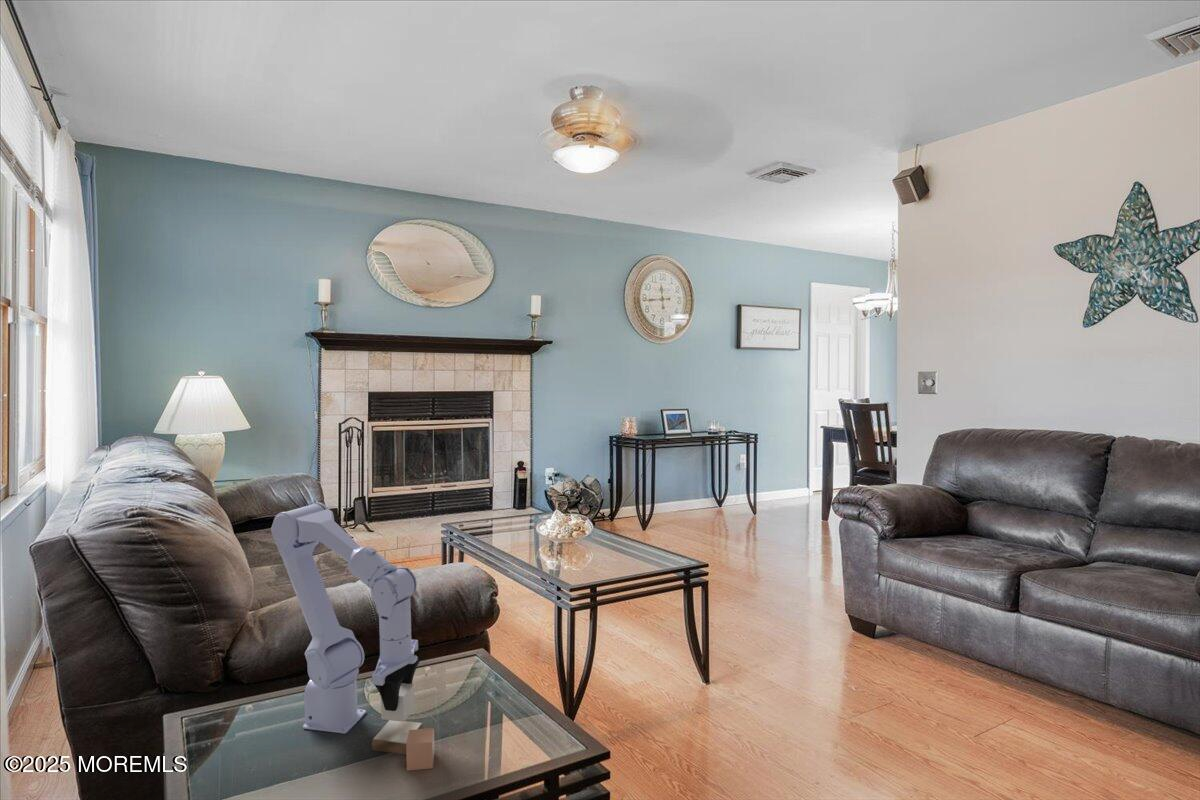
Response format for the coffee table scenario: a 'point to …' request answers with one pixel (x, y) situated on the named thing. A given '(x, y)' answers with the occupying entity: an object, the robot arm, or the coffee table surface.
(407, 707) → the stone block
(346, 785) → the coffee table surface
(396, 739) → the plinth
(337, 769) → the coffee table surface
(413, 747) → the terracotta block
